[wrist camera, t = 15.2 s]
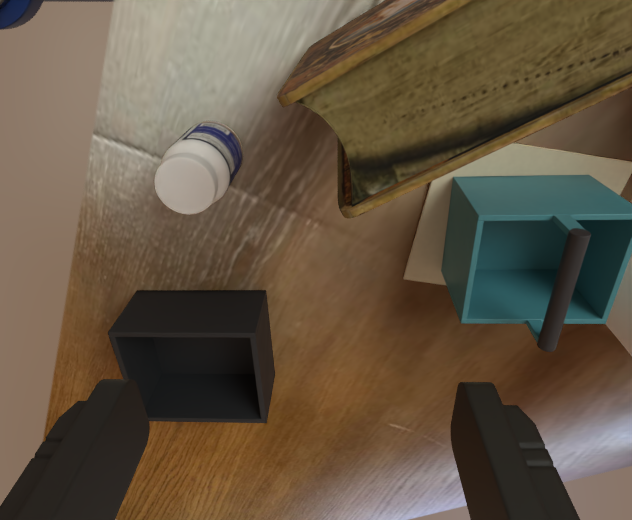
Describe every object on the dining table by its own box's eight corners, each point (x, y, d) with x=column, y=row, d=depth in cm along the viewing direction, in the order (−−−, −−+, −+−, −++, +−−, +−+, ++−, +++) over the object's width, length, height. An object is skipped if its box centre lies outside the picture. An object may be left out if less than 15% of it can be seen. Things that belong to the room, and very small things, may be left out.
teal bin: (440, 271, 48) (471, 351, 37) (452, 176, 42) (492, 237, 31) (561, 270, 47) (629, 352, 36) (589, 174, 42) (678, 235, 31)
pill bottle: (207, 187, 45) (175, 232, 36) (173, 136, 42) (130, 171, 34) (255, 162, 43) (235, 203, 34) (223, 108, 41) (192, 136, 32)
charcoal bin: (160, 373, 58) (137, 421, 51) (137, 290, 51) (107, 332, 45) (275, 374, 57) (266, 423, 50) (266, 290, 50) (255, 333, 44)
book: (501, -72, 33) (805, -211, 12) (523, 3, 35) (810, 3, 14) (309, 45, 38) (269, 102, 16) (339, 105, 40) (339, 224, 18)
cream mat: (402, 277, 49) (403, 279, 48) (444, 131, 41) (445, 132, 40) (562, 300, 49) (563, 302, 49) (634, 161, 41) (637, 163, 41)
